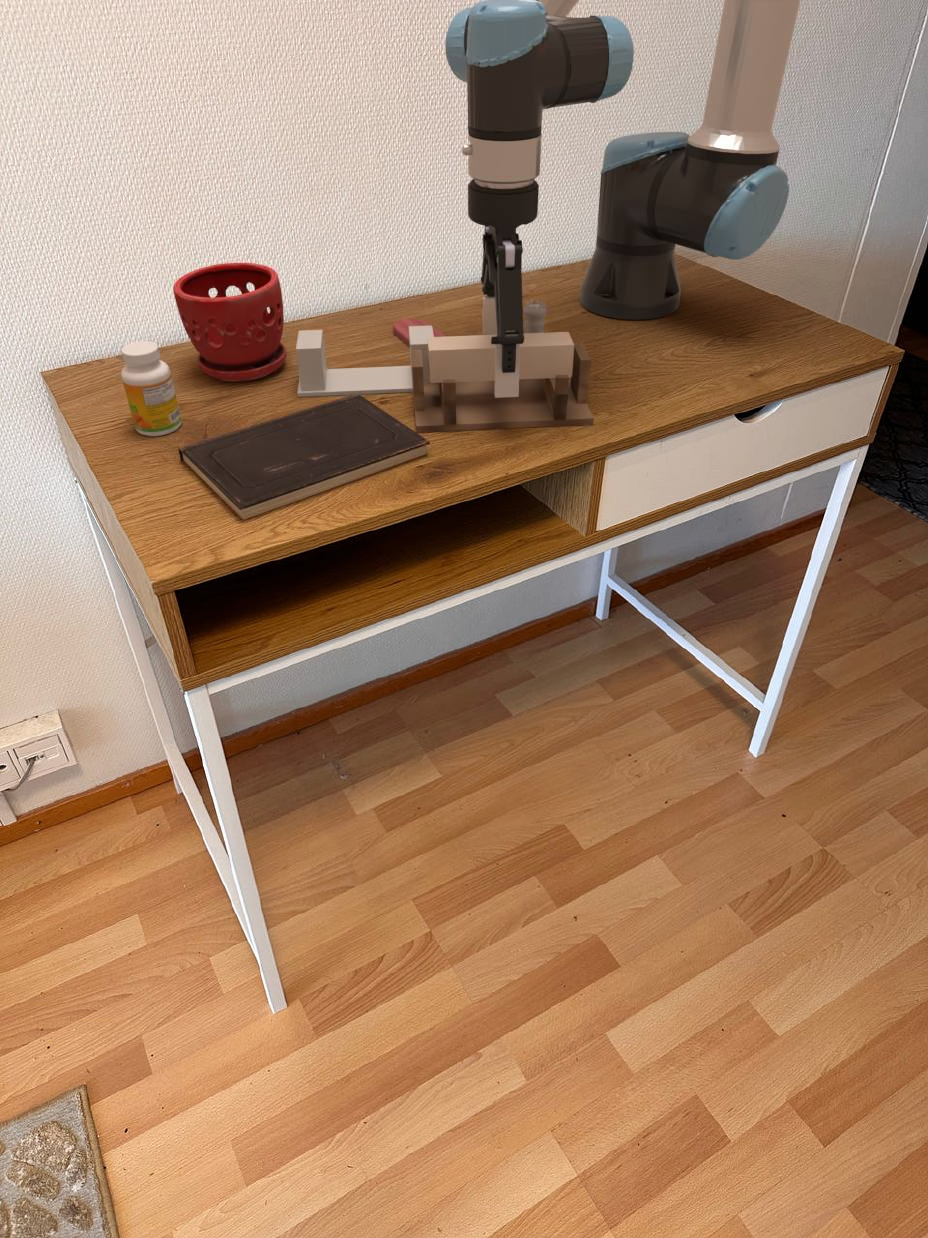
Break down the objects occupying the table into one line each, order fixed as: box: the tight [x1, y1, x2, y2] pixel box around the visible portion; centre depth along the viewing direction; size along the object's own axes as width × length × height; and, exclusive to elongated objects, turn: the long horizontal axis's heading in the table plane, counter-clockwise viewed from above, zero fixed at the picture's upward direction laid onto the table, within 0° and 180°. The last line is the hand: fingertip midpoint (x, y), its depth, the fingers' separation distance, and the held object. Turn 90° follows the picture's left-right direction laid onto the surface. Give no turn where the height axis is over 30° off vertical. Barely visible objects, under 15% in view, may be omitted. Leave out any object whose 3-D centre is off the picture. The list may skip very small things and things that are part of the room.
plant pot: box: [172, 262, 287, 382], centre depth 114 cm, size 13×13×12 cm
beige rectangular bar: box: [427, 331, 575, 383], centre depth 105 cm, size 17×4×4 cm, turn 95°
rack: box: [411, 343, 595, 433], centre depth 107 cm, size 21×13×6 cm, turn 95°
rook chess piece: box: [523, 299, 549, 334], centre depth 116 cm, size 4×4×8 cm
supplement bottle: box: [120, 340, 182, 437], centre depth 101 cm, size 5×5×10 cm
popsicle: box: [392, 317, 448, 349], centre depth 123 cm, size 5×2×15 cm
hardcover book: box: [178, 393, 431, 521], centre depth 98 cm, size 16×23×2 cm
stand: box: [295, 324, 434, 398], centre depth 112 cm, size 18×7×6 cm, turn 95°
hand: (499, 371), depth 106 cm, fingers open, 13 cm apart
